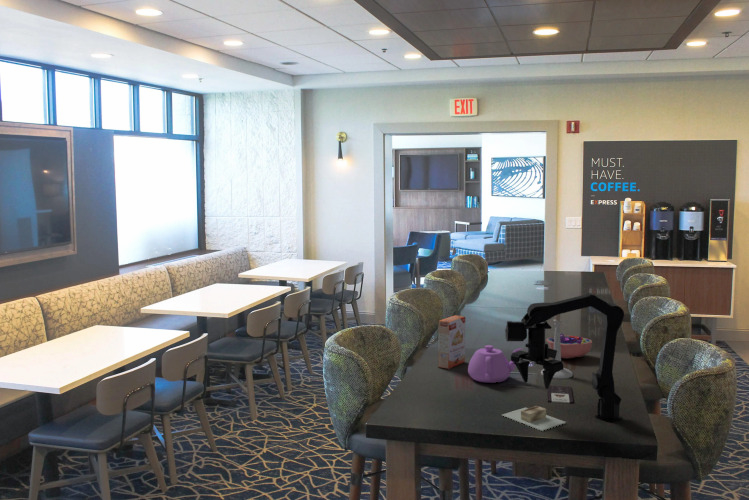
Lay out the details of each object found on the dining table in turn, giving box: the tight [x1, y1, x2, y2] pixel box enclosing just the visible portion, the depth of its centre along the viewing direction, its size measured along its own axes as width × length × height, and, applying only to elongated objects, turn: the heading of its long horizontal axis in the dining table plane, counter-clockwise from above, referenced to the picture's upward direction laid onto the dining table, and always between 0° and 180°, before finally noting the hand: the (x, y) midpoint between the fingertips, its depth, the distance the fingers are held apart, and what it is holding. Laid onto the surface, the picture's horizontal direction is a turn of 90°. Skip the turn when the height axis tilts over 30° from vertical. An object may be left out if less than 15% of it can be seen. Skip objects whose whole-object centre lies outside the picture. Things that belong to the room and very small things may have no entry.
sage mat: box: [501, 407, 567, 432], centre depth 235 cm, size 18×12×1 cm, turn 36°
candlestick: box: [540, 314, 573, 380], centre depth 285 cm, size 13×13×30 cm
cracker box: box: [437, 314, 466, 370], centre depth 301 cm, size 14×6×21 cm, turn 143°
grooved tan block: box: [521, 405, 547, 422], centre depth 235 cm, size 8×4×3 cm, turn 126°
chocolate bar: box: [546, 385, 574, 404], centre depth 260 cm, size 9×1×18 cm
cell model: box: [545, 332, 593, 360], centre depth 310 cm, size 17×20×11 cm
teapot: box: [467, 344, 523, 384], centre depth 280 cm, size 22×22×14 cm
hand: (536, 385), depth 236 cm, fingers open, 9 cm apart
